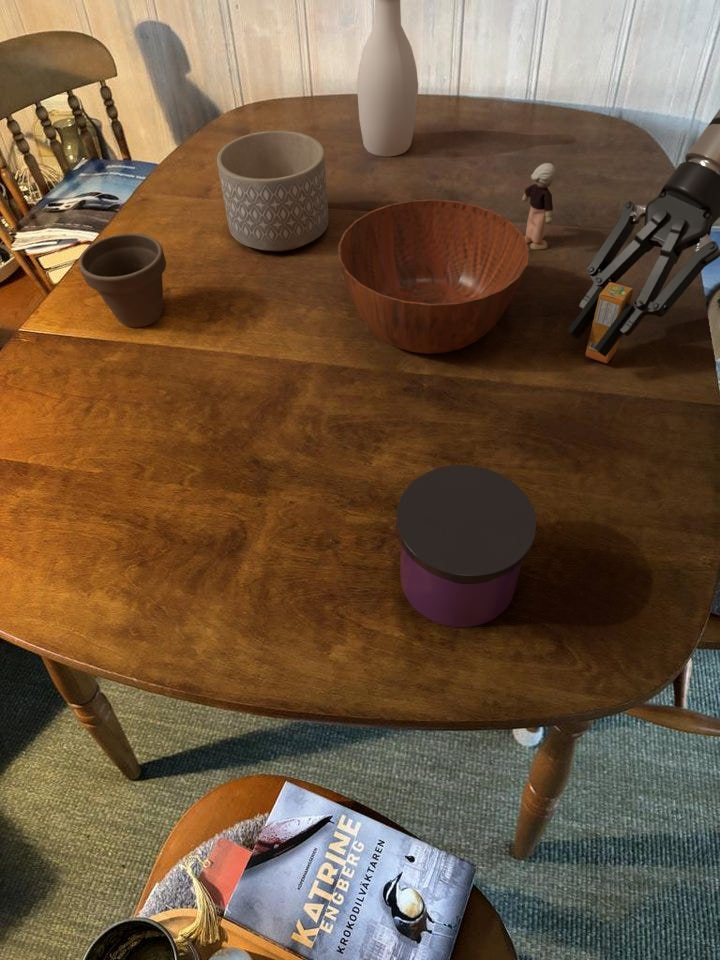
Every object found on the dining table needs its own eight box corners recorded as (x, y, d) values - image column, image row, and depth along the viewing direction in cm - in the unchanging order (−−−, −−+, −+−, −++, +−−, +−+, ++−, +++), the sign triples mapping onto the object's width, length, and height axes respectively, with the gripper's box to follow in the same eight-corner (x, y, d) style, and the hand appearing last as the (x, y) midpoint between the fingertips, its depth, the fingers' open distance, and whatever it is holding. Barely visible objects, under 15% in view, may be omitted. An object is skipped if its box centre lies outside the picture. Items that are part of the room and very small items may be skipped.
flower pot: (83, 320, 105) (59, 259, 97) (142, 283, 111) (124, 223, 103) (136, 349, 100) (115, 288, 92) (194, 309, 106) (179, 248, 98)
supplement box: (592, 342, 97) (610, 279, 90) (616, 351, 96) (637, 288, 88) (582, 355, 96) (599, 292, 88) (606, 365, 94) (626, 301, 87)
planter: (342, 244, 116) (338, 167, 106) (243, 266, 113) (230, 189, 103) (311, 197, 126) (305, 123, 116) (220, 216, 123) (206, 141, 113)
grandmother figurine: (558, 247, 114) (574, 169, 104) (540, 256, 112) (555, 177, 103) (525, 227, 118) (537, 150, 108) (507, 234, 117) (518, 157, 107)
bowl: (390, 399, 92) (390, 328, 84) (314, 296, 107) (308, 226, 98) (552, 343, 99) (568, 271, 90) (460, 253, 114) (466, 183, 105)
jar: (534, 547, 77) (550, 486, 69) (501, 650, 69) (516, 595, 61) (419, 512, 80) (423, 450, 73) (376, 606, 73) (375, 549, 65)
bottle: (402, 164, 133) (405, 7, 114) (348, 153, 136) (342, -1, 117) (425, 139, 139) (431, -15, 120) (373, 129, 143) (371, -21, 123)
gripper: (777, 218, 84) (647, 385, 90) (658, 166, 93) (547, 321, 99) (770, 189, 78) (631, 370, 84) (643, 136, 87) (526, 303, 93)
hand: (586, 343), depth 91 cm, fingers closed on supplement box, 4 cm apart
